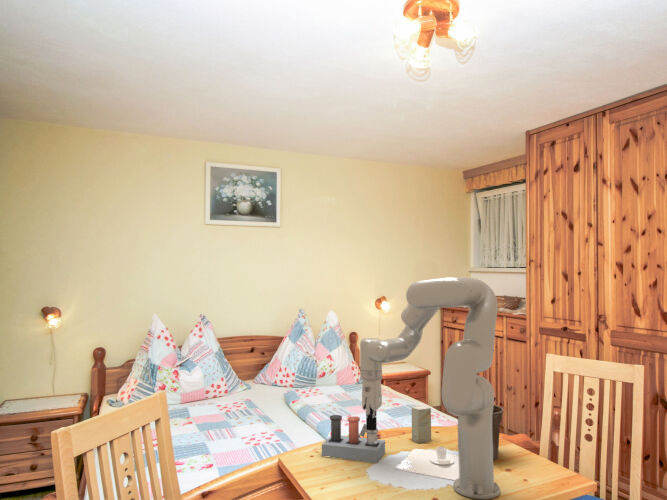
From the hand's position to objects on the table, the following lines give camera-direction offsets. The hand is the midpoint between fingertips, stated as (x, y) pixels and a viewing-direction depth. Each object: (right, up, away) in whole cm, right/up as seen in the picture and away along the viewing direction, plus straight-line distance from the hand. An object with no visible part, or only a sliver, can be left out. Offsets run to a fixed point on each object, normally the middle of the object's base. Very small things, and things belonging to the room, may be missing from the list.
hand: (371, 429), depth 158 cm
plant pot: (+37, -9, 0) cm, 38 cm away
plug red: (-6, -5, +2) cm, 8 cm away
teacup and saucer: (+20, -8, -8) cm, 23 cm away
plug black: (-12, -5, +4) cm, 14 cm away
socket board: (-6, -9, +1) cm, 11 cm away
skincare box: (+20, -11, +15) cm, 27 cm away
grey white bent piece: (-4, -10, +9) cm, 14 cm away
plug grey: (0, -8, -1) cm, 8 cm away
